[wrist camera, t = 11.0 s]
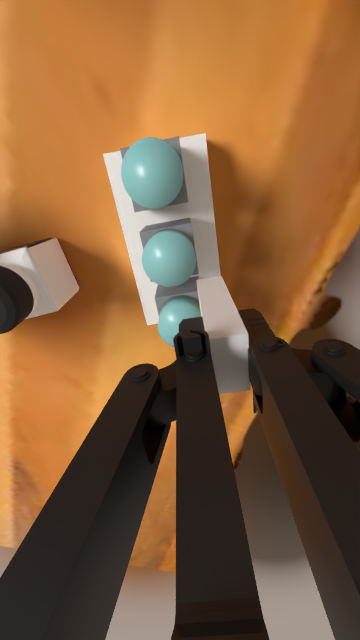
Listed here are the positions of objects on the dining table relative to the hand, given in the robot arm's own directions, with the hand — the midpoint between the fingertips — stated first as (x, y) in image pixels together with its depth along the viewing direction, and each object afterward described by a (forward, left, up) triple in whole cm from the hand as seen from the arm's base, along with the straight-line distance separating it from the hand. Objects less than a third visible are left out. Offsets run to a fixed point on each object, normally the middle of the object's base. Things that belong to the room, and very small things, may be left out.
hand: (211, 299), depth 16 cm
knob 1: (-3, +8, -15) cm, 17 cm away
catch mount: (-3, +1, -18) cm, 18 cm away
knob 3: (-3, -5, -15) cm, 16 cm away
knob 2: (-3, +1, -15) cm, 15 cm away
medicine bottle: (-20, 0, -18) cm, 27 cm away
